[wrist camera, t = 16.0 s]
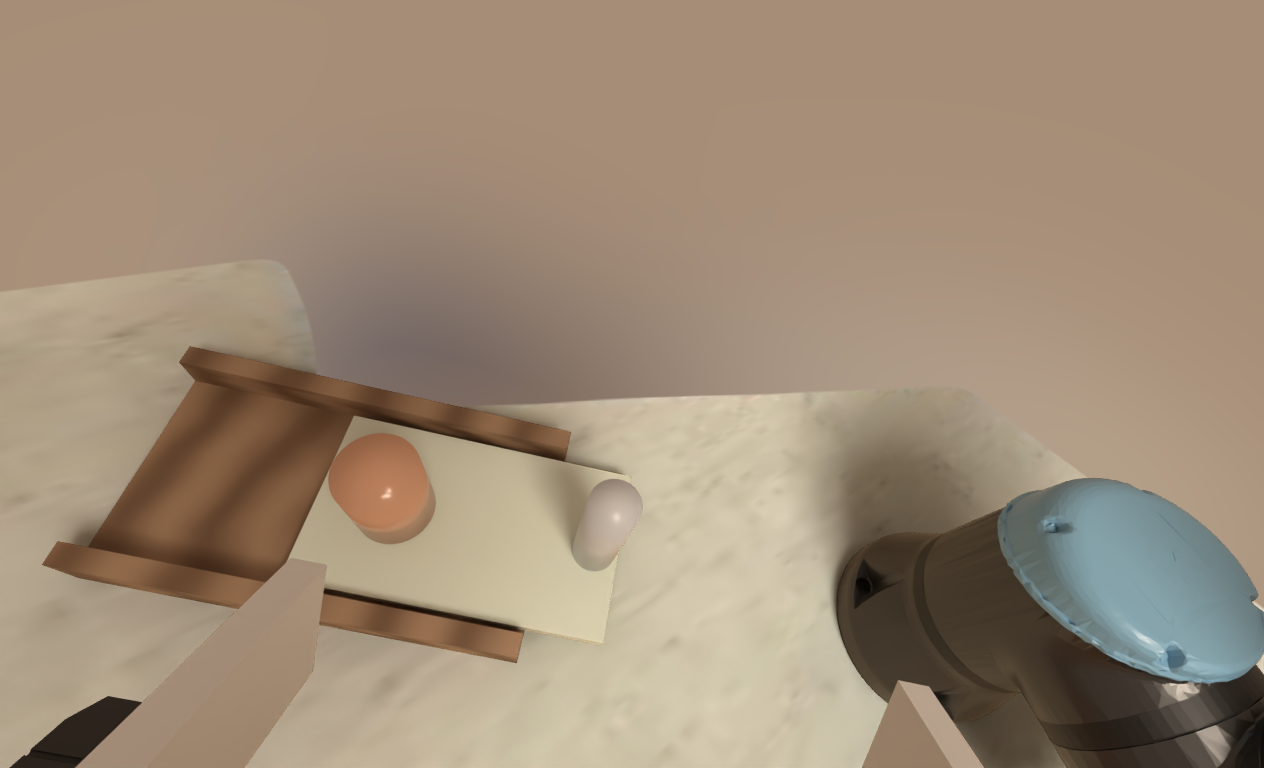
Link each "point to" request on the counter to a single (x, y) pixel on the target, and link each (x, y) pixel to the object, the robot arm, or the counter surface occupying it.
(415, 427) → the tray
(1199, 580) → the robot arm
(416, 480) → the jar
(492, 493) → the cream flat panel
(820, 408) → the counter surface
